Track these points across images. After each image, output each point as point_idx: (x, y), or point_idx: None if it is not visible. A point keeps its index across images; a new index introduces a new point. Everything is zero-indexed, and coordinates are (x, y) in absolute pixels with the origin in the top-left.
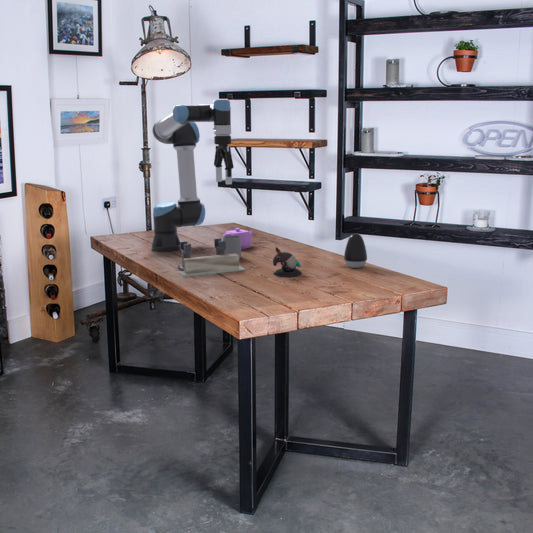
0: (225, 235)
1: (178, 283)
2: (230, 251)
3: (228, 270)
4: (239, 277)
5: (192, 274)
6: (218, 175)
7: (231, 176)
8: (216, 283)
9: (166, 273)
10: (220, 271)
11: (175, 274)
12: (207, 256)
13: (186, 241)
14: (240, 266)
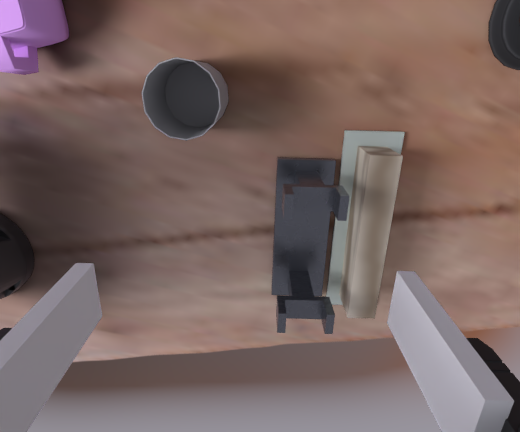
0: (15, 65)
1: None
2: (221, 115)
3: None
4: (469, 180)
5: None
6: (65, 342)
7: (452, 326)
8: (485, 255)
9: (314, 326)
10: None
11: (336, 312)
12: (359, 253)
13: (282, 314)
14: (364, 132)
